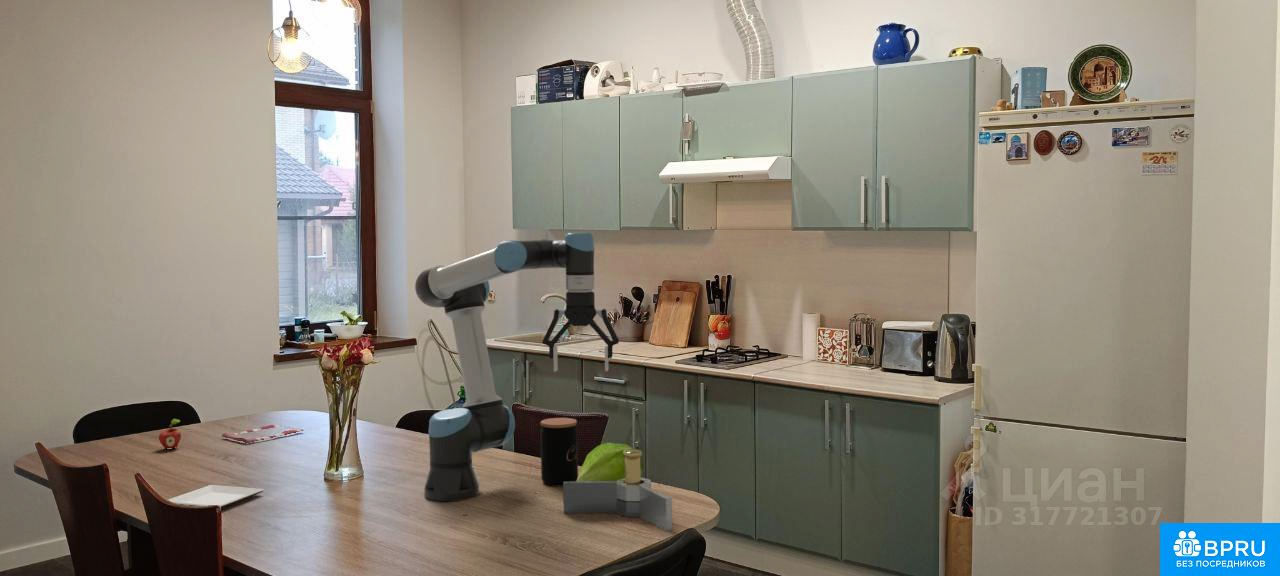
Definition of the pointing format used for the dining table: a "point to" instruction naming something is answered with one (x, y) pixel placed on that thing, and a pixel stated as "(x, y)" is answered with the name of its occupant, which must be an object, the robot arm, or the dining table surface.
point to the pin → (632, 466)
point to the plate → (216, 496)
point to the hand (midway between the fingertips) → (581, 370)
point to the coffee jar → (559, 451)
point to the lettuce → (605, 463)
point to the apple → (170, 436)
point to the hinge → (619, 500)
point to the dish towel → (248, 440)
